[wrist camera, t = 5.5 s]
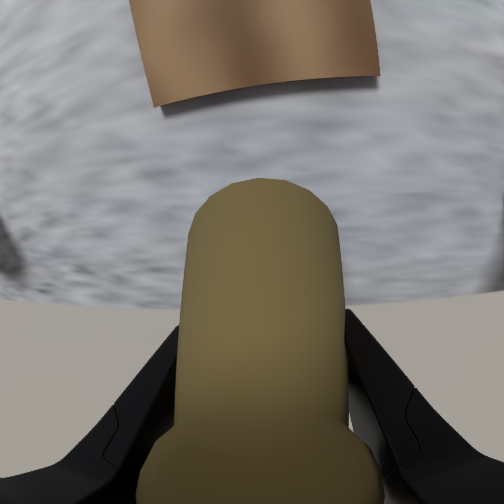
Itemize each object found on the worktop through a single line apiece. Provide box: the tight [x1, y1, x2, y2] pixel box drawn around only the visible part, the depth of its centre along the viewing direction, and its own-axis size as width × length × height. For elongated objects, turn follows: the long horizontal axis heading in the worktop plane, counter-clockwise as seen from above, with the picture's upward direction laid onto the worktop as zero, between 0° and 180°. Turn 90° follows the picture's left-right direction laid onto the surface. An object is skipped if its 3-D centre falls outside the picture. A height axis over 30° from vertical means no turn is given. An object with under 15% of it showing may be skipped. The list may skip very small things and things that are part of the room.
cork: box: [135, 178, 385, 504], centre depth 8 cm, size 6×6×11 cm
